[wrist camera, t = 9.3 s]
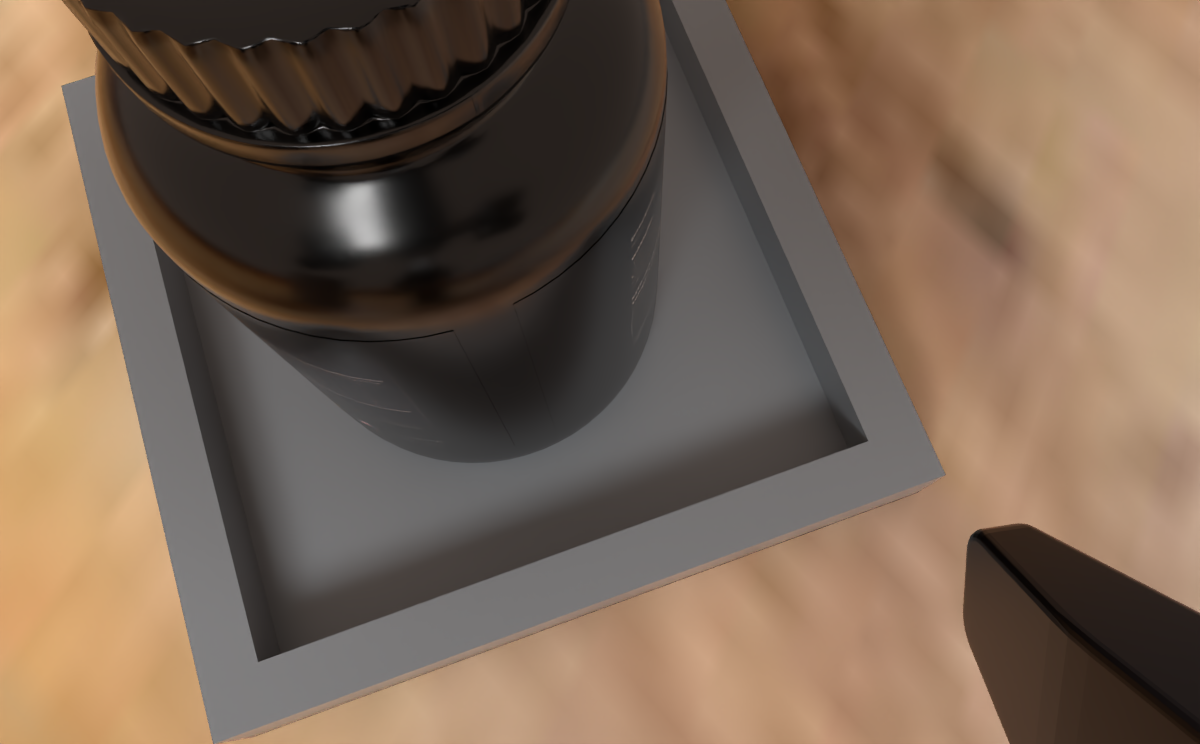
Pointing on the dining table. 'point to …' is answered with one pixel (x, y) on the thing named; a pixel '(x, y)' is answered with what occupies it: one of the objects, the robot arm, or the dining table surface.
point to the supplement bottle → (406, 195)
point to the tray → (524, 484)
